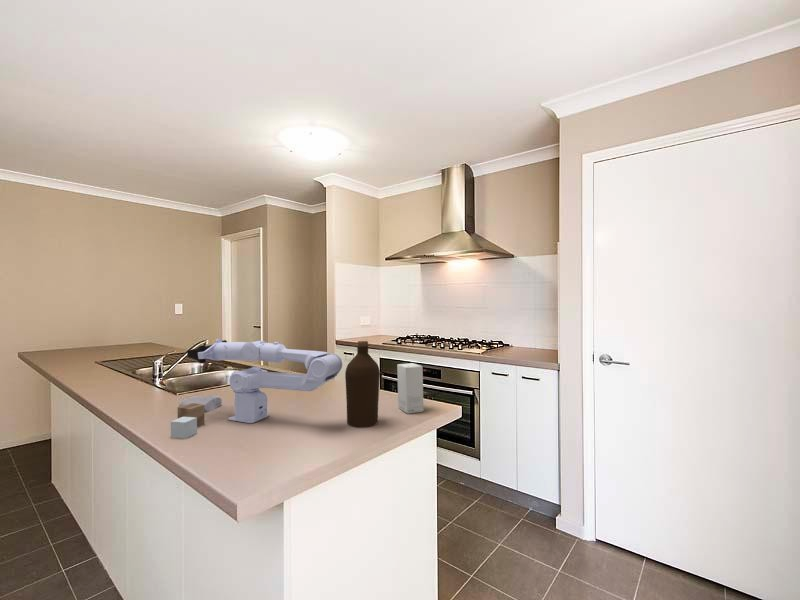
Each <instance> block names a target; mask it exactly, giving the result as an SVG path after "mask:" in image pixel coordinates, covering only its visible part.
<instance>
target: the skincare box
mask: <svg viewBox="0 0 800 600" xmlns="http://www.w3.org/2000/svg"><path fill="white" fill-rule="evenodd" d="M396 365H397V367H396V369H397V407H398V409H399V410H401V411H403V412H404V413H405V414H407V415H409V414H416V413H424V375H423V374H424V373H423V372H424V369H423V367H424V366H423V365H420V364H417V363H414V362H410V363H399V364H396Z"/></svg>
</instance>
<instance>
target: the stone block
mask: <svg viewBox="0 0 800 600" xmlns="http://www.w3.org/2000/svg"><path fill="white" fill-rule="evenodd" d="M178 403H179V404H178V407H180V406H184V405H187V404H191V403H196V404H203V405H204V413H209V412H211V411H214V410H215V409H217V408H219V407H221V406H222V403H223V401H222V398H221V396H220V395H217V394H212V395H207V396H205V395H204V396H201V395H197V394H196V395H194V396H190V397H186V398H184V399H182V400H180V401H179V402H178Z"/></svg>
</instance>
